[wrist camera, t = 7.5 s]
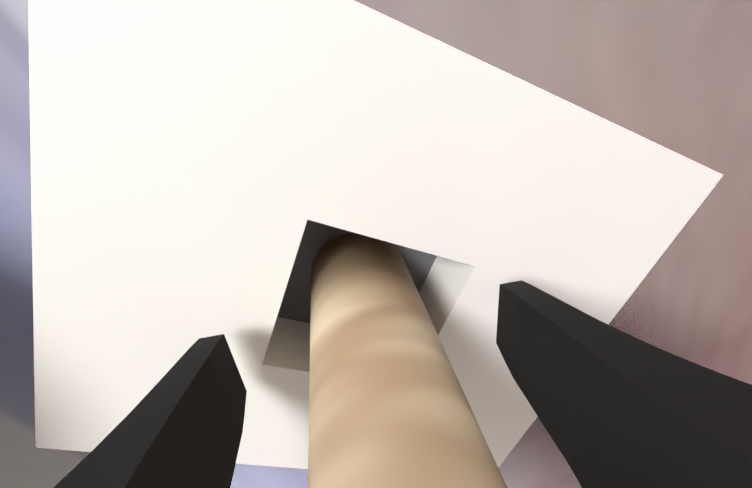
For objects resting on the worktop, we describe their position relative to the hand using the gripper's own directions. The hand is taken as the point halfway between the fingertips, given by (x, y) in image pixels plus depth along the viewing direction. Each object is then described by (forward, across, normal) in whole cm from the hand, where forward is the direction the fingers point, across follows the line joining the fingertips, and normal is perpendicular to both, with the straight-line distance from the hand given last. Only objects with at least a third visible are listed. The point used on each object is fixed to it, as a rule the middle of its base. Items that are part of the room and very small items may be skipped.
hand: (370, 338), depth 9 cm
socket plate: (+3, 0, 0) cm, 3 cm away
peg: (+3, 0, 0) cm, 3 cm away
